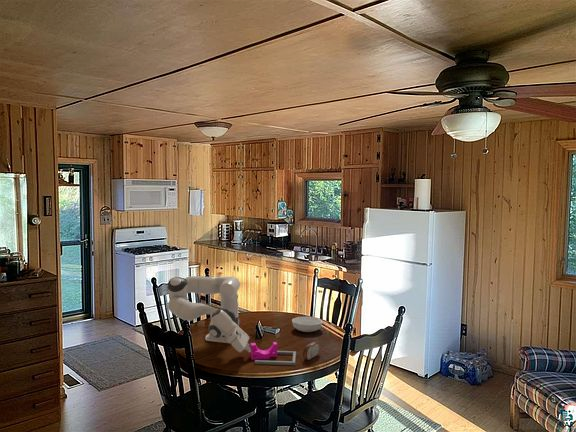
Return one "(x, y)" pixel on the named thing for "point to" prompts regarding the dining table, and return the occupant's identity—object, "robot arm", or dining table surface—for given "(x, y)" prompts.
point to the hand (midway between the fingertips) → (250, 351)
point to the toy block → (263, 352)
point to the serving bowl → (307, 324)
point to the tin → (311, 350)
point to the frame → (280, 361)
